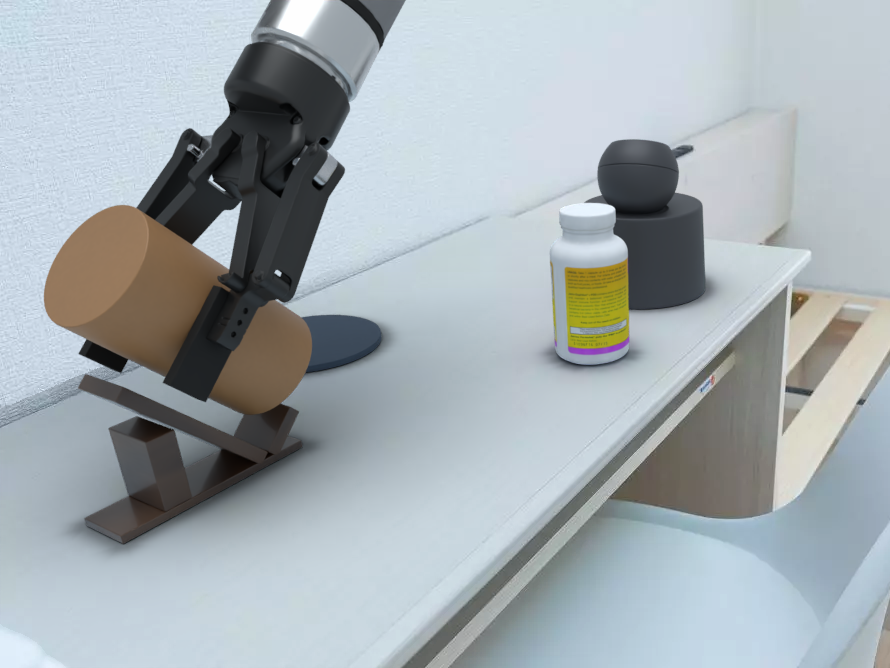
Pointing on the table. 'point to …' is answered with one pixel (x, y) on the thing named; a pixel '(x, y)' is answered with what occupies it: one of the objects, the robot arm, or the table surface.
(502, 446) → the table surface
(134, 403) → the roll stand
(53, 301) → the paper roll
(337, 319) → the mat
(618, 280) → the supplement bottle
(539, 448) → the table surface
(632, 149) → the gray pot with base
